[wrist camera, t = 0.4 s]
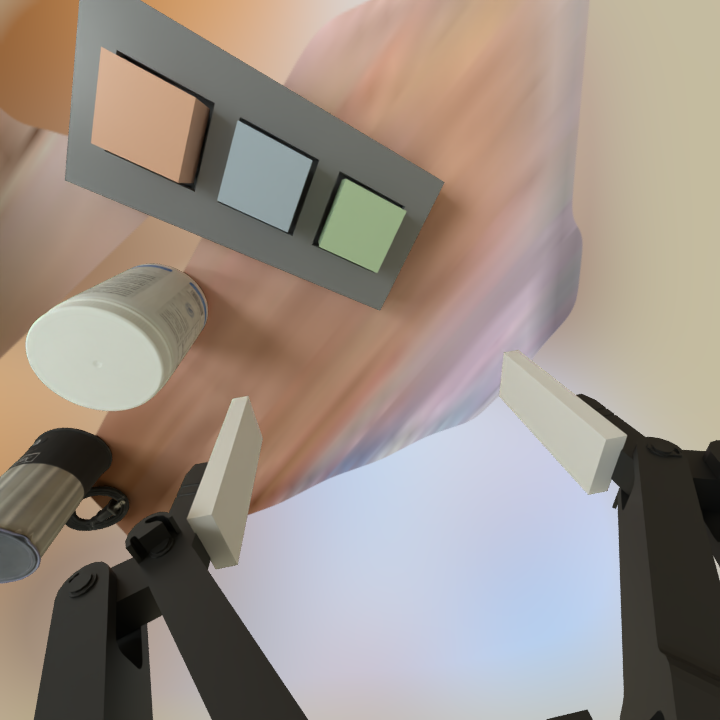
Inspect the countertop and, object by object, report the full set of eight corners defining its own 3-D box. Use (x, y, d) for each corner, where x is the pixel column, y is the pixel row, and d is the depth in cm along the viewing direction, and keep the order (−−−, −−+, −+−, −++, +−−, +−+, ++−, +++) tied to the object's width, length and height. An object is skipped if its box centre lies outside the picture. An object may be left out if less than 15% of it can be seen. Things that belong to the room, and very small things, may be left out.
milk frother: (60, 414, 42) (-50, 514, 29) (169, 471, 49) (119, 573, 36) (3, 474, 45) (-119, 589, 32) (114, 520, 52) (49, 630, 39)
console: (98, 181, 31) (64, 180, 27) (119, 2, 26) (82, -35, 22) (372, 297, 41) (380, 310, 36) (427, 182, 36) (444, 182, 31)
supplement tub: (107, 314, 37) (2, 381, 24) (138, 243, 34) (37, 276, 22) (191, 354, 41) (138, 430, 28) (225, 292, 38) (184, 346, 25)
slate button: (227, 199, 30) (217, 200, 27) (246, 128, 28) (237, 120, 24) (289, 227, 32) (287, 232, 29) (311, 163, 30) (312, 160, 26)
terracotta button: (118, 148, 27) (91, 143, 24) (129, 66, 25) (101, 46, 22) (193, 183, 29) (178, 182, 26) (210, 109, 27) (195, 97, 24)
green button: (318, 240, 33) (319, 246, 30) (341, 179, 31) (345, 178, 27) (370, 264, 35) (377, 273, 31) (396, 208, 33) (406, 211, 29)
